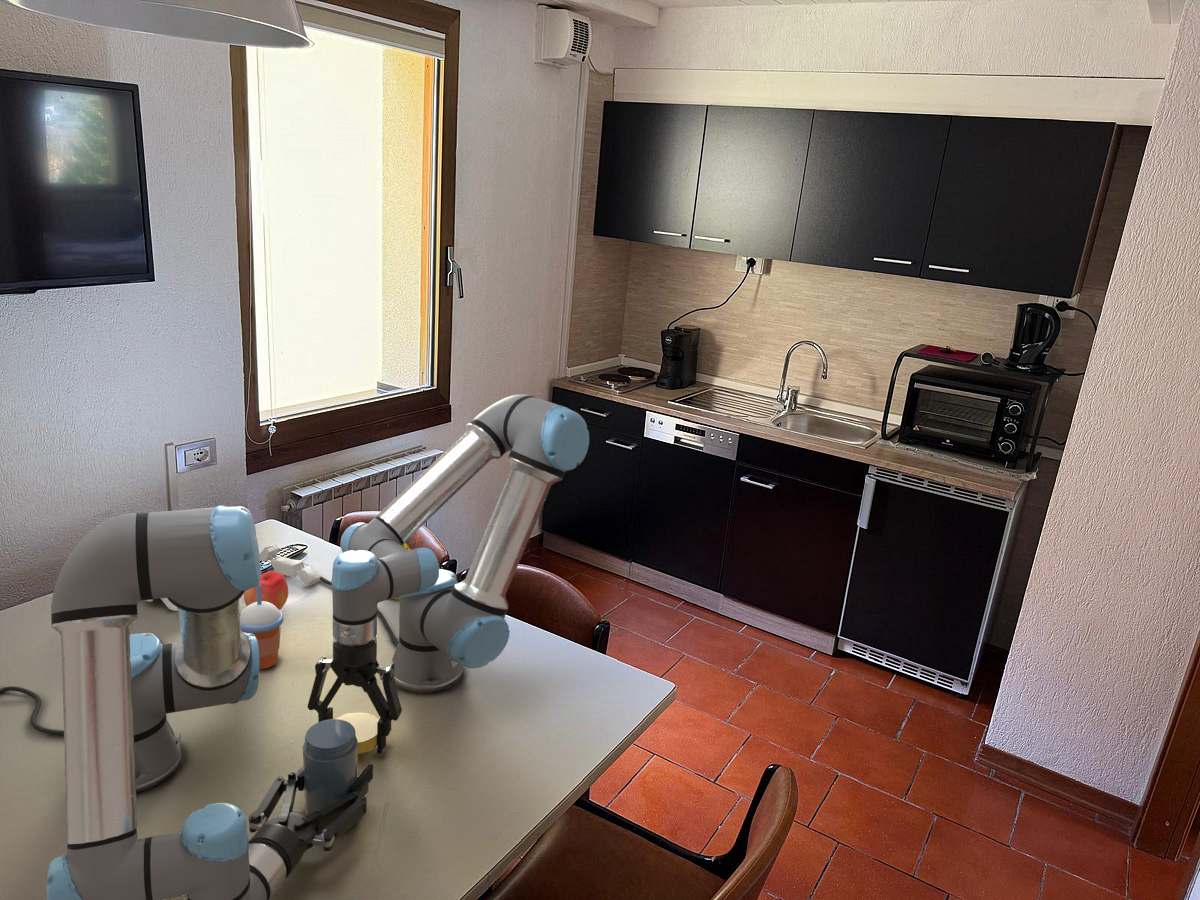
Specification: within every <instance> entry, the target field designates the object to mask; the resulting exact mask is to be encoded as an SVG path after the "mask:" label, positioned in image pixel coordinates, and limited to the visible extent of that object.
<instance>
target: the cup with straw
mask: <svg viewBox="0 0 1200 900" xmlns="http://www.w3.org/2000/svg"><path fill="white" fill-rule="evenodd" d="M256 588H257V602H254V603H252V604H250V605H248V606H245V607H244V609H243V610H242V611H241V612H240V630H241V631H242V632H244V633H252V634H254V635H255V637H256V639H257V641H258V647H259V659H260V670H265V669H269V668H271V667H274V666H275V665H276V664H277V663H278V658H279V649H280V644H281V630H282V627H281V625H282V624H283V622H284V614H283V612H282V611H281V610H280V611H279V610H278V609H277V607H276V606H274V605H273V604H271V603H269V602H265V601H262V597H261V585H260V584H259V585H258V586H257V587H256Z"/></svg>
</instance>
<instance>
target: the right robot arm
mask: <svg viewBox="0 0 1200 900" xmlns="http://www.w3.org/2000/svg"><path fill="white" fill-rule="evenodd" d="M589 446H590V432H589V430H588V424H587V423H586V421H585V418H583V416H582V415H580V414H579V413H578V412H576V411H575V410H572V409H570V408H568V407H566V406H563V405H561V404H557V403H555V402H552V401H548V400H545V399H541V398H540V397H539V398H538V397H537V396H534V395H531V394H526V393H524V394H523V393H522V394H521V393H520V394H519V393H518V394H513V395H510V396H507V397H505V398H502V399H500V400H498V401H496V402H495V403H493V404H491V405H490V406H488V407H487V408H485V409H483V411H481V412H480V413H478V414H477V415H476V416H475V417H474V418H473V419H472V420H471V421H469V423H467V424H466V425H465V433H464V434H462V435H461V436H460V438H458V439H457V440H456V441H455V442H454V443H453V444H452V445H451V446H450V447H449V448H448V449H447V450H446V451H444V453H442V454H441V455H440V456H439V457H438V458H437V459H436V460H434V462H433V463H431V464H430V465H429V466H428V467H427V468H426V469H425V470H424V471H423V472H422V473H420V474H419V475H418V477H417V478H415V479H414V480H413V481H412V482H411V483H410V484H409V485H408V486H407V487H406V488H405V489H404V490H403V491H401V492H400V493H399V494H398V495H397V496H396V497H395V498H394V499H393V500H392V501H391V502H390V503H389V504H387V506H385V507H384V508H383V509H382V510H381V511H380V512H379V513H377V515H375V517H373V518H372V519H371V520H370V521H369V522H362V521H361V522H356V523H354V524H353V523H352V524H351V525H349V526H348V527H347V528H346V529H345V530H344V532H343V533H342V535H341V538H340V543H339V544H340V549H341V553H339V555H337V556H336V557H335V558H334V560H333V562H332V571H331V572H332V574H331V581H330V580H328V579H327V578H326V577H323V576H321V577H320V579H319V580H318V581H321V582H322V583H324V584H326V585H328V586H330V587H331V591H332V638H333V639H332V659H328V658H327V657H326V656H321V657H320V659H318V661H317V662H316V663H315V665H314V669H315V677H314V681H313V685H312V688H311V692H310V696H309V699H308V702H307V709H308V710H309V711H313V710H314V711H315V712H317V719H318V720H317V721H318V722H321V721H324V720H330V719H334V707H333V706H329V705H330V704H331V702H332V701H333V699H334V698H335V696H336V695H337V694H338V691H339V690H340V689H341V687H342V685H343V684H344V686H354V687H357V688H361V689H362V690H363V692H364V693H365V694H367V696H368V698H369V700H370V702H371V704H372V705H373V707H374V709H375V711H376V713H377V715H378V717H379V718H378V719H379V721H378V722H377V746H376V753H377V754H379V755H381V754H383V752H384V750H385V748H386V746H387V737H389V735H390V733H391V731H392V721H393V722H396V721H398V720H399V718H400V716H401V714H402V713H403V708H402V705H401V700H400V697H399V693H398V689H397V687H398V688H399V689H401V690H404V691H407V692H410V693H416V694H430V693H431V694H432V693H438V692H441V691H445V690H447V689H450V688H451V687H453V686H455V685H456V684H457V683H458V682H459V681H460V680H461V679H462V676H463V672H464V668H467V669H480V668H483V667H485V666H487V665H489V663H491V662H494V661H495V660H497V658H498V657H500V655H501V654H502V653H503V651H504V649H505V648H506V647H507V645H508V642H509V639H510V632H511V631H510V629H509V628H510V626H509V624H508V622H507V619H505V617H506V615H507V613H508V610H509V607H510V605H509V603H508V600H507V598H506V595H507V592H508V590H509V588H510V586H511V583H512V581H513V578H514V577H515V574H516V572H517V569H518V567H519V564H520V562H521V560H522V557H523V555H524V552H525V550H526V548H527V545H528V543H529V540H530V538H531V536H532V533H533V530H534V528H535V526H536V523H537V521H538V518H539V517H540V514H541V512H542V509H543V507H544V504H545V502H546V500H547V497H548V495H549V493H550V491H551V488H552V486H553V485H554V484H556V483H558V482H561V481H562V480H563V479H564V476H565V474H566V472H568V471H572V470H574V469H576V468H577V466H580V465H581V464H582V462H583V461H584V460H585V458H586V455H587V453H588V450H589ZM508 452H509V454H508V458H507V459H508V461H509V463H510V466H511V469H510V471H509V474H508V476H507V479H506V482H505V483H504V486H503V489H502V491H501V493H500V495H499V498H498V500H497V502H496V504H495V507H494V510H493V513H492V514H491V517H490V519H489V521H488V524H487V525H486V529H485V531H484V534H483V536H482V538H481V541H480V543H479V545H478V547H477V551H476V553H475V555H474V557H473V559H472V562H471V565H470V567H469V569H468V572H467V574H466V576H465V578H464V579H463V580H462V581H460V582H459V581H458V579H457V578H458V577H457V575H456V574H455V572H453V571H451V570H448V569H442V568H440V563H439V560H438V557H437V556H436V554H435V552H434V551H433V550H432V549H431V548H429V547H418V548H417V547H415V548H412V549H411V550H408V549H406V548H404V547H403V546H402V545H403V544H404V543H405V544H406V542H407V541H408V540H409V539H410V538H411V537H412V536H413V535H414V534H415V533H416V532H417V531H418V530H420V528H422V527H423V526H424V525H425V524H426V523H427V521H429V520H430V519H431V518H432V517H433V516H434V515H435V514H436V513H437V512H438V511H439V510H440V509H441V508H443V507H444V505H445V504H446V503H448V502H449V501H450V500H451V499H452V498H453V497H454V496H455V495H456V494H457V493H459V491H460V490H461V489H463V487H465V485H467V483H469V482H470V480H472V479H473V478H474V477H475V476H476V475H477V474H478V473H479V472H480V471H481V470H482V469H483V468H484V467H486V465H487V464H488V463H490V461H491V460H500V458H502V457H503V456H504V455H505V454H506V453H508ZM395 597H399V600H398V639H397V637H396V635H395V634H394V631H393V630H392V628H391V626H390V625H389V623H388V621H387V619H386V617H385V616H384V614H383V613H382V611H380V610H379V608H378V605H379V603H382V602H385V601H389V600H392V598H395ZM378 617H379V619H380V620H381V623H383V626H384V628H385V629H386V631H387V634H388V635H389V637H390V639H391V640H392V642H393V643H394V644H395V646H396V648H395V651H394V653H393V656H392V659H391V660H390V665H388V666H382V665H380V664H379V662H378V659H377V657H378V637H377V635H378ZM330 670H332V671H333V673H334V674H335V675H336V679H335V680H334V683H333V684H332V686H331V688H330V689H329V691H328V692H327V694H326V696H325V697H324V698H323V700H320V699H321V696H322V692H323V688H324V685H325V681H326V678H327V674H328V672H329V671H330ZM376 674H378V675H379V678H380V679H379V680H380V681H382V688H383V692H382V690H381V688H380V686H379V684H378V680H377V677H376ZM383 693H384V694H383ZM318 722H317V723H318Z"/></svg>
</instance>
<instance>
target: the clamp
mask: <svg viewBox="0 0 1200 900" xmlns="http://www.w3.org/2000/svg"><path fill="white" fill-rule="evenodd" d="M280 549H281V547H279V546H278V545H277V544H272V545H266V546H264V547H263V549H262V550H261V551H260V552H259V556H260V560H262V561H268V560H271V562H270V563H269V564H271V565H272V566H273V568H274V571H275V572H278V573H281V574H282V575H283V576H288V577H292V578H296V577H298V578H299V579H300V580H301V582H303V584H304V585H305V587H309V586H312V585H314V584H316V583H318V582H319V581H320V580H319V579H320V577H322V576H321V575H320V574H319V573H318V572H317V570H315V569H314V568H313V566H312V565H310V564H309V565H308V564H307V563H305V562H304V561H303V560H301V559H300V560H299V559H292V558H289V557H285V556H278V553H279V551H280ZM273 558H274V559H273ZM272 559H273V560H272ZM305 566H306V567H305ZM270 571H271V570H270Z"/></svg>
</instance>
